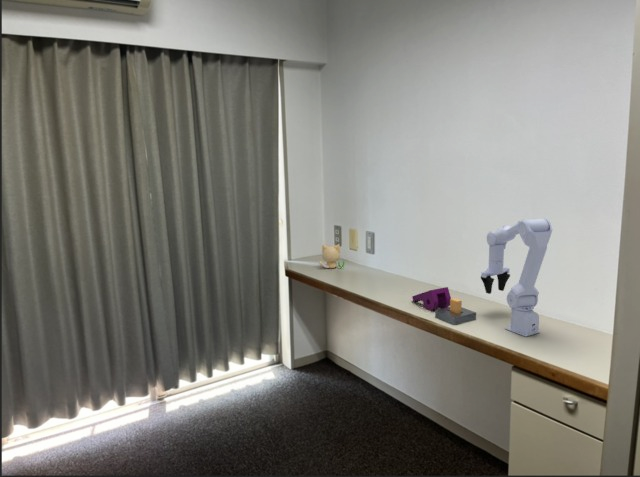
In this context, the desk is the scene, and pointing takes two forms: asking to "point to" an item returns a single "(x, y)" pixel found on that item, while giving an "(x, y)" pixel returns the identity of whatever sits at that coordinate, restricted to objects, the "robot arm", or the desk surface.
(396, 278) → the desk surface
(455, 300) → the orange-brown rectangular block
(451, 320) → the grey slotted square block
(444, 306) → the mounting bracket
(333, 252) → the kitten
